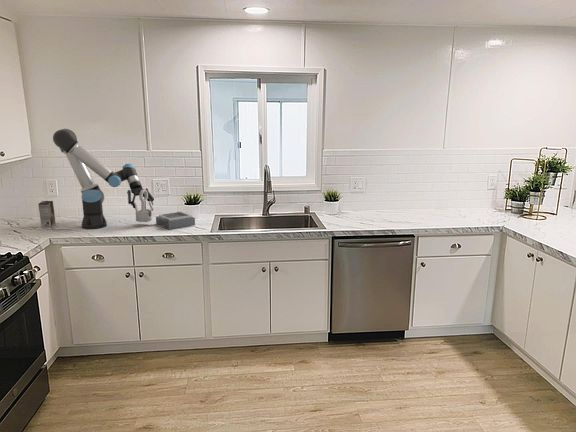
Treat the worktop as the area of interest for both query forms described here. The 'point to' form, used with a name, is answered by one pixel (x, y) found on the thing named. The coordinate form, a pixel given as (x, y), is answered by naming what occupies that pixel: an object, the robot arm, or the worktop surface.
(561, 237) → the worktop surface
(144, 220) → the engine component
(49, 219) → the coffee box
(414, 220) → the worktop surface
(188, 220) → the grey square tray
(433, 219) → the worktop surface
